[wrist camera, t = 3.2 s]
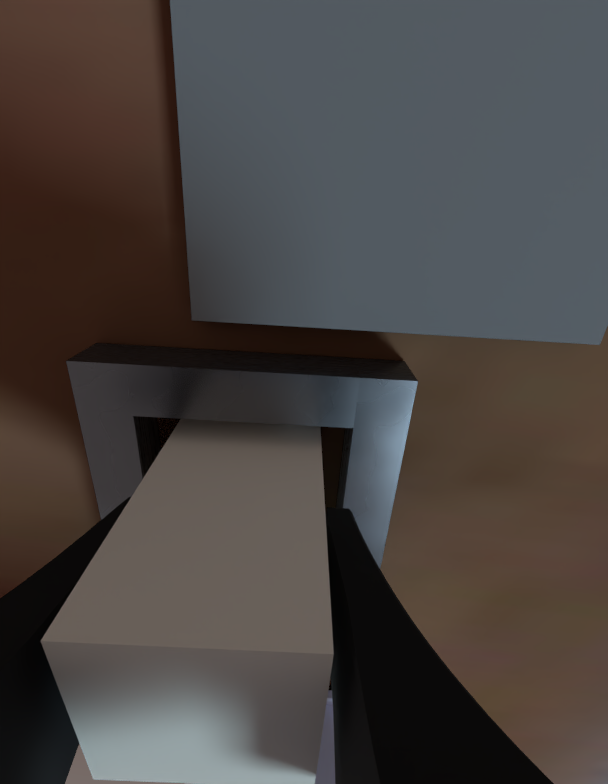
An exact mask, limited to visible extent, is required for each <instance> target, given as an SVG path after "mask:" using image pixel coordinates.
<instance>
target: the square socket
mask: <svg viewBox="0 0 608 784" xmlns="http://www.w3.org/2000/svg"><path fill="white" fill-rule="evenodd" d="M66 363H67V367H68V372H69V376H70V381H71V385H72V390H73V394H74V399H75V403H76V408H77V413H78V417H79V422H80V426H81V431H82V435H83V440H84V444H85V449H86V453H87V458H88V462H89V467H90V471H91V476H92V481H93V485H94V490H95V494H96V499H97V503H98V508H99V512H100V517H101V520H102V519H103V518H104V517H105V516H107V515H108V514H109V513H110V512H111V511H113V510H114V509H115V508H116V507H117V506H119V505H120V504H121V503H122V502H123V501H125V500H126V499H127V498H128V497H132V495H133V494H134V492H135V490H136V489H137V487H138V486H139V484H140V483H141V481H142V479H143V478H144V476H145V475H146V473H147V471H148V470H149V468H150V467H151V465H152V464H153V462H154V460H155V459H156V457H157V456H158V454H159V452H160V451H161V448H160V440H159V432H158V423H157V417H159V418H177V419H195V420H213V421H231V422H249V423H267V424H285V425H303V426H321V427H339V428H345V434H344V442H343V450H342V459H341V467H340V475H339V484H338V492H337V500H336V508H348V509H350V510H351V511H352V513H353V516H354V518H355V521H356V523H357V525H358V528H359V530H360V532H361V534H362V536H363V538H364V540H365V542H366V544H367V546H368V548H369V550H370V552H371V554H372V556H373V558H374V559H375V561H376V563H377V565H378V567H379V568H380V567H381V562H382V557H383V552H384V547H385V542H386V537H387V532H388V527H389V522H390V517H391V512H392V507H393V502H394V497H395V492H396V487H397V482H398V477H399V472H400V467H401V462H402V457H403V453H404V448H405V443H406V438H407V433H408V428H409V423H410V418H411V413H412V408H413V403H414V398H415V393H416V388H417V383H418V381H417V379H416V378H415V376H414V375H413V373H412V372H411V370H410V369H409V367H408V366H407V364H406V363H405V361H394V360H377V359H360V358H343V357H326V356H309V355H292V354H274V353H257V352H240V351H223V350H206V349H189V348H172V347H155V346H138V345H121V344H104V343H96V344H94V345H92V346H90V347H89V348H87V349H85V350H84V351H82V352H80V353H79V354H77V355H75V356H74V357H72V358H70V359H68V360H67V361H66Z"/></svg>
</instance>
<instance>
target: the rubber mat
mask: <svg viewBox="0 0 608 784" xmlns="http://www.w3.org/2000/svg"><path fill="white" fill-rule="evenodd" d="M170 10H171V24H172V39H173V54H174V68H175V83H176V97H177V112H178V127H179V141H180V156H181V171H182V185H183V200H184V215H185V229H186V244H187V259H188V273H189V288H190V302H191V317H192V320H193V321H210V322H227V323H243V324H260V325H277V326H294V327H310V328H327V329H344V330H361V331H378V332H394V333H411V334H428V335H445V336H461V337H478V338H495V339H512V340H529V341H545V342H562V343H579V344H596V345H600V343H601V340H602V338H603V335H604V333H605V330H606V328H607V325H608V0H170Z"/></svg>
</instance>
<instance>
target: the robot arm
mask: <svg viewBox="0 0 608 784" xmlns="http://www.w3.org/2000/svg"><path fill="white" fill-rule="evenodd" d="M130 498H131V497H128V498H127V499H126V500H125V501H123V502H122V503H121V504H120V505H119V506H117V507H116V508H115V509H114V510H113V511H111V512H110V513H109V514H108V515H107V516H105V517H104V518H103V519H102V520H101V521H99V522H98V523H97V524H96V525H95V526H94V527H92V528H91V529H90V530H89V531H88V532H86V533H85V534H84V535H83V536H82V537H80V538H79V539H78V540H77V541H75V542H74V543H73V544H72V545H70V546H69V547H68V548H67V549H66V550H64V551H63V552H62V553H61V554H59V555H58V556H57V557H56V558H54V559H53V560H52V561H50V562H49V563H48V564H46V565H45V566H44V567H42V568H41V569H40V570H38V571H37V572H36V573H34V574H33V575H32V576H31V577H29V578H28V579H27V580H25V581H24V582H23V583H21V584H20V585H19V586H17V587H16V588H14V589H13V590H12V591H10V592H9V593H7V594H6V595H5V596H3V597H2V598H0V784H65V781H66V778H67V776H68V773H69V770H70V767H71V765H72V762H73V759H74V756H75V753H76V750H77V748H78V745H79V741H78V738H77V735H76V733H75V730H74V728H73V725H72V722H71V720H70V717H69V714H68V712H67V709H66V707H65V704H64V701H63V699H62V696H61V693H60V691H59V688H58V686H57V683H56V680H55V678H54V675H53V673H52V670H51V667H50V665H49V662H48V659H47V657H46V654H45V652H44V649H43V646H42V644H41V639H42V638H43V636H44V635H45V633H46V631H47V630H48V628H49V627H50V625H51V624H52V622H53V620H54V619H55V617H56V616H57V614H58V612H59V611H60V609H61V608H62V606H63V605H64V603H65V601H66V600H67V598H68V597H69V595H70V593H71V592H72V590H73V589H74V587H75V586H76V584H77V582H78V581H79V579H80V578H81V576H82V574H83V573H84V571H85V570H86V568H87V567H88V565H89V563H90V562H91V560H92V559H93V557H94V555H95V554H96V552H97V551H98V549H99V548H100V546H101V544H102V543H103V541H104V540H105V538H106V536H107V535H108V533H109V532H110V530H111V529H112V527H113V525H114V524H115V522H116V521H117V519H118V517H119V516H120V514H121V513H122V511H123V510H124V508H125V506H126V505H127V503H128V502H129V500H130ZM326 531H327V548H328V565H329V583H330V600H331V617H332V634H333V651H334V656H333V662H332V669H331V676H330V678H331V687H332V690H328V697H327V703H326V710H325V717H324V724H323V731H322V737H321V744H320V751H319V758H318V765H317V772H316V778H315V784H553V783H552V782H551V781H550V780H549V779H548V778H547V777H546V776H545V775H544V774H543V773H542V772H541V771H540V770H539V769H538V767H537V766H536V765H535V764H534V763H533V762H532V761H531V760H530V759H529V758H528V757H527V756H526V755H525V754H524V753H523V752H522V751H521V750H520V749H519V748H518V747H517V746H516V745H515V744H514V743H513V742H512V740H511V739H510V738H509V737H508V736H507V735H506V734H505V733H504V732H503V731H502V730H501V729H500V728H499V726H498V725H497V724H496V723H495V722H494V721H493V720H492V719H491V718H490V717H489V716H488V714H487V713H486V712H485V711H484V710H483V709H482V707H481V706H480V705H479V704H478V703H477V702H476V700H475V699H474V698H473V697H472V696H471V695H470V693H469V692H468V691H467V690H466V689H465V688H464V686H463V685H462V684H461V683H460V682H459V681H458V679H457V678H456V677H455V676H454V675H453V674H452V672H451V671H450V670H449V669H448V667H447V666H446V665H445V664H444V662H443V661H442V660H441V659H440V657H439V656H438V655H437V653H436V652H435V651H434V650H433V648H432V647H431V646H430V644H429V643H428V642H427V640H426V639H425V637H424V636H423V635H422V633H421V632H420V631H419V629H418V628H417V627H416V625H415V624H414V622H413V621H412V619H411V618H410V616H409V615H408V614H407V612H406V611H405V609H404V608H403V606H402V604H401V603H400V601H399V600H398V598H397V597H396V595H395V594H394V592H393V590H392V589H391V587H390V585H389V584H388V582H387V581H386V579H385V577H384V575H383V574H382V572H381V570H380V568H379V567H378V565H377V563H376V561H375V559H374V558H373V556H372V554H371V552H370V550H369V548H368V546H367V544H366V542H365V540H364V538H363V536H362V534H361V532H360V530H359V528H358V525H357V523H356V521H355V518H354V516H353V513H352V511H351V510H350V509H348V508H329V507H327V513H326Z"/></svg>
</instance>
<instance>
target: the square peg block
mask: <svg viewBox="0 0 608 784" xmlns="http://www.w3.org/2000/svg"><path fill="white" fill-rule="evenodd" d="M41 644H42V646H43V649H44V652H45V654H46V657H47V659H48V662H49V665H50V667H51V670H52V673H53V675H54V678H55V680H56V683H57V686H58V688H59V691H60V693H61V696H62V699H63V701H64V704H65V707H66V709H67V712H68V714H69V717H70V720H71V722H72V725H73V728H74V730H75V733H76V735H77V738H78V741H79V743H80V746H81V748H82V751H83V754H84V756H85V759H86V761H87V764H88V766H89V769H90V772H91V775H92V777H93V779H96V780H119V781H120V780H121V781H144V782H169V783H194V784H195V783H196V784H315V778H316V772H317V765H318V758H319V751H320V744H321V737H322V731H323V724H324V717H325V710H326V703H327V697H328V690H329V683H330V676H331V669H332V662H333V656H334V651H333V634H332V617H331V600H330V583H329V565H328V548H327V531H326V514H325V497H324V480H323V463H322V446H321V428H320V426H303V425H285V424H267V423H249V422H231V421H213V420H195V419H180V421H179V422H178V424H177V426H176V427H175V429H174V430H173V432H172V433H171V435H170V437H169V438H168V440H167V441H166V443H165V445H164V446H163V448H162V449H161V451H160V452H159V454H158V456H157V457H156V459H155V460H154V462H153V464H152V465H151V467H150V468H149V470H148V471H147V473H146V475H145V476H144V478H143V479H142V481H141V483H140V484H139V486H138V487H137V489H136V490H135V492H134V494H133V495H132V497H131V498H130V500H129V502H128V503H127V505H126V506H125V508H124V510H123V511H122V513H121V514H120V516H119V517H118V519H117V521H116V522H115V524H114V525H113V527H112V529H111V530H110V532H109V533H108V535H107V536H106V538H105V540H104V541H103V543H102V544H101V546H100V548H99V549H98V551H97V552H96V554H95V555H94V557H93V559H92V560H91V562H90V563H89V565H88V567H87V568H86V570H85V571H84V573H83V574H82V576H81V578H80V579H79V581H78V582H77V584H76V586H75V587H74V589H73V590H72V592H71V593H70V595H69V597H68V598H67V600H66V601H65V603H64V605H63V606H62V608H61V609H60V611H59V612H58V614H57V616H56V617H55V619H54V620H53V622H52V624H51V625H50V627H49V628H48V630H47V631H46V633H45V635H44V636H43V638H42V639H41Z"/></svg>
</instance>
